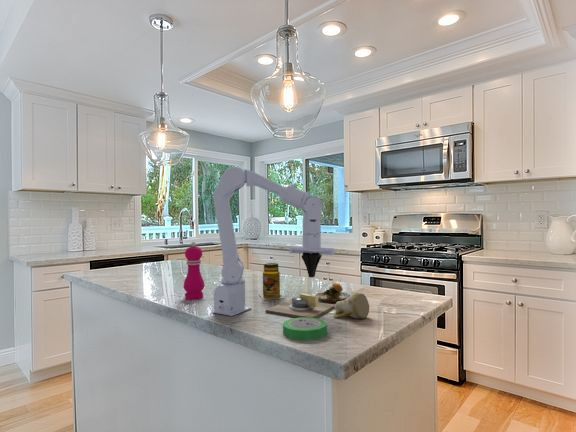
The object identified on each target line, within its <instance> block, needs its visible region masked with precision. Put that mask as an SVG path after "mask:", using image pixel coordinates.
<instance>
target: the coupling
mask: <svg viewBox="0 0 576 432" xmlns="http://www.w3.org/2000/svg"><path fill="white" fill-rule="evenodd" d="M291 299H292V306H293V307H299V308H304V307H310V306H312V307H318V302H319V298H318V296H316V295H312V294H307V293H299V296H294V297H291Z"/></svg>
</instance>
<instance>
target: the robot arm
mask: <svg viewBox="0 0 576 432" xmlns="http://www.w3.org/2000/svg"><path fill="white" fill-rule="evenodd" d="M245 185H246V187H258V188H260V189H262V190H265V191H267V192H270V193H272V194H274V195H277V196H278V197H279V200H280V202H282V203H284V204H287V205H289V206H290V207H292V208H293V207H294V208H295V209H298V210H300V209H301V210H302V246H290V247H289V254H301V259H302V260H303V263H304V266H305V267H306V271H307V274H308V278H315V277H316V273H317V269H318V265H319V263H320V260H321V258H322V256H323V255H329V256H334V255H336V253H335V252H336V251H335V249H336V248H332V247H322V246H321V245H322V243H321V242H322V239H321V238H322V237H321V236H322V235H321V234H322V232H321V231H322V230H321V229H322V226H321V224H322V223H321V222H322V221H321V211H322V209H323V203H322V200H321V199H320V198H319V197H318V196H317V195H310V194H311V193H310V192H309V191H303V190H301V189H299V188H297V185H296V184H292V185H290V184H285V185H281V184H279V183H277V182H275V181H273V180H271V179H268V178H267V177H265V176H263V175H261V174H258V173H256V172H255V171H252V170H249V169H245V168H244V169H243V168H241V167H240V166H237V165H234V166H233V165H232V166H229V167H228V168H227V169H226V170H225V171H224V172H223V173H222V174H221V175H220V178H219V181H218V183H217V186H216V187H215V189H214V192H213V194H212V196H213V197H212V198H213V204H214V211H215V216H216V221H217V228H218V235H219V240H220V245H221V251H222V253H221V254H222V265H223V266H222V268H221V277H222V278H221V282H220V284H219V285H218V286H216V287H215V289H214V292H213V301H214V302H213V310H211V312H212V313H214V314H218V315H225V316H230V317H234V316H236V315H238V314H241V313H244V312H246V311H249V310H251V309H252V307H251V306H246V280H245V278H243V274H244V269H245V268H244V263H243V262H242V261H241V259H240V255H239V250H238V246H237V240H236V234H235V229H234V223H233V216H232V210H231V204H230V199H231V198H232V197H233V195H235V193H236V192H237V191H239V190H240V189H241V188H243V187H244V186H245Z"/></svg>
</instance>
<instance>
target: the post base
mask: <svg viewBox="0 0 576 432" xmlns="http://www.w3.org/2000/svg"><path fill="white" fill-rule="evenodd" d="M333 310H335V304H334V303H333V304H328V303H326V302H319V301H318V307H312V306H310V307H304V308H299V307H293V306H292V298H291V299H289V300H287V301H286V300H285V301H284V302H281V303H279V304H277V305H274V306H272V307H269V308H268V309H265V313H267V314H273V315H278V316H283V317H291V318H300V317H311V318H318V319H319V318H320V317H321V316H323V315H324V314H326V313H328V312H331V311H333Z"/></svg>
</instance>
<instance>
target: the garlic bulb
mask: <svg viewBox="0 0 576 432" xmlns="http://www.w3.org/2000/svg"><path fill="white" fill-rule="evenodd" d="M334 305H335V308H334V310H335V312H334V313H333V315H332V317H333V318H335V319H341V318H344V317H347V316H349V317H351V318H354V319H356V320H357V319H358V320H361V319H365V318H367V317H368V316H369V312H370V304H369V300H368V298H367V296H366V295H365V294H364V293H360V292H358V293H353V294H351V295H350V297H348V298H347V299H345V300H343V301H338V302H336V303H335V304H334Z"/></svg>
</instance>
